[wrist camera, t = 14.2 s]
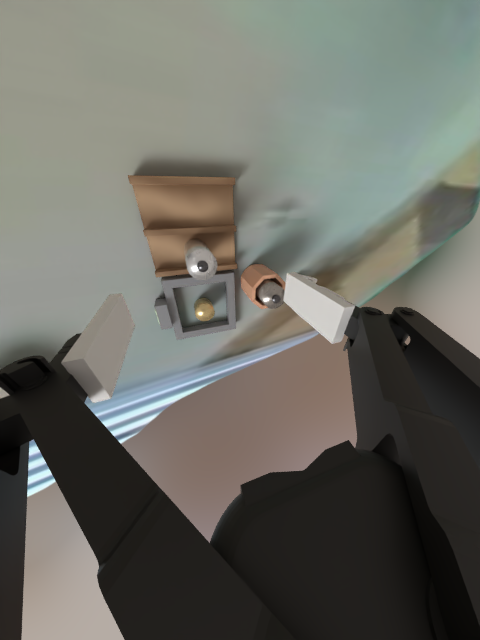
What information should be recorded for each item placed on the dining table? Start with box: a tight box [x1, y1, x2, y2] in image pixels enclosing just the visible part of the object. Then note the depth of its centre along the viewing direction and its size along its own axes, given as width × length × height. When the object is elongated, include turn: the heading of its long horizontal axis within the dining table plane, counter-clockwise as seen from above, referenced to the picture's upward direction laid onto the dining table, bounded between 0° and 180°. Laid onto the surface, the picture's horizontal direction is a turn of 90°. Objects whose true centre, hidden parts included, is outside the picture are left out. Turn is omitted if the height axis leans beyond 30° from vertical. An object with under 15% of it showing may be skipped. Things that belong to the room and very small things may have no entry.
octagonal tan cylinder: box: [241, 264, 286, 309], centre depth 35 cm, size 6×6×7 cm
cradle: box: [154, 270, 236, 340], centre depth 36 cm, size 13×15×3 cm
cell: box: [184, 239, 217, 280], centre depth 27 cm, size 4×4×10 cm
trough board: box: [128, 175, 237, 277], centre depth 28 cm, size 13×14×2 cm
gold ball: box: [194, 298, 215, 321], centre depth 35 cm, size 4×4×3 cm
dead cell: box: [255, 278, 285, 309], centre depth 33 cm, size 4×4×10 cm
